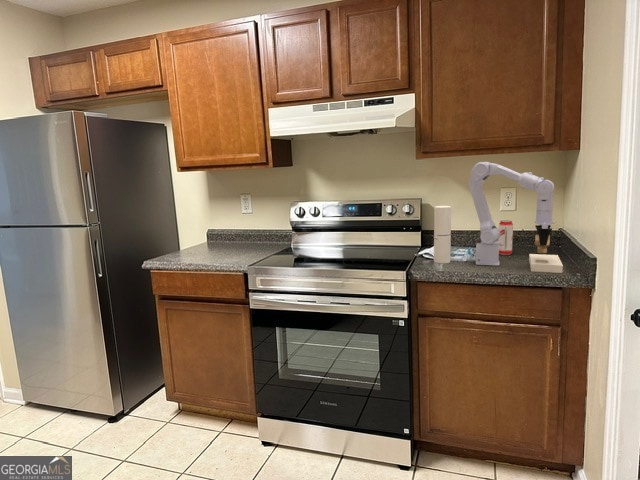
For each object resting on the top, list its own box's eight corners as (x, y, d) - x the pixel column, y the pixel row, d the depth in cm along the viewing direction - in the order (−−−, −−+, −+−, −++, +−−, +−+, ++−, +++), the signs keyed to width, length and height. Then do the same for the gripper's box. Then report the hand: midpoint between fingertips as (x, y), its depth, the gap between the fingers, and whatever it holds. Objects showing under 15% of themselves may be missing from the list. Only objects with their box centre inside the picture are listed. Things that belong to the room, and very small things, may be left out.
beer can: (508, 252, 209) (509, 219, 207) (514, 255, 203) (515, 221, 200) (495, 253, 209) (496, 220, 206) (501, 255, 203) (502, 222, 200)
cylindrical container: (446, 264, 191) (446, 207, 186) (431, 262, 195) (431, 207, 191) (452, 261, 196) (453, 206, 192) (438, 259, 201) (438, 205, 196)
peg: (535, 253, 174) (536, 236, 173) (533, 250, 179) (534, 234, 178) (550, 253, 173) (551, 236, 171) (548, 251, 177) (549, 234, 176)
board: (531, 271, 173) (531, 264, 173) (529, 260, 191) (529, 253, 191) (562, 273, 169) (562, 265, 168) (557, 261, 187) (557, 255, 186)
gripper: (557, 212, 165) (555, 247, 167) (553, 208, 178) (552, 241, 180) (536, 212, 168) (535, 246, 170) (534, 208, 181) (533, 240, 183)
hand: (542, 243), depth 175 cm, fingers closed on peg, 5 cm apart
